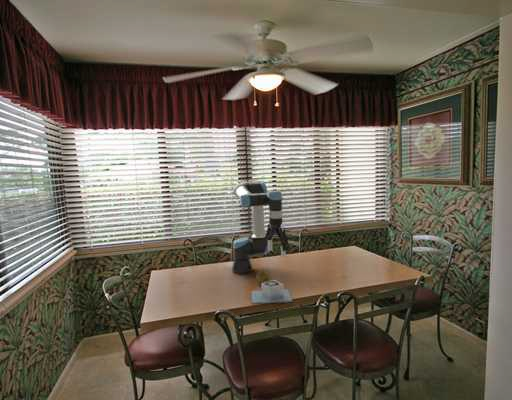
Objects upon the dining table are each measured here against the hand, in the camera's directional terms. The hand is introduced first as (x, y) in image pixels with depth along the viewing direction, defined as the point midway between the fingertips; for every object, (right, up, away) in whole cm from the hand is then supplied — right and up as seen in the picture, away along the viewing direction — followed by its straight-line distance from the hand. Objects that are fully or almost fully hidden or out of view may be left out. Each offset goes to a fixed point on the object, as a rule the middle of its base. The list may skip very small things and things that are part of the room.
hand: (276, 253), depth 172 cm
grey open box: (-3, -24, -3) cm, 24 cm away
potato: (-7, -23, +16) cm, 29 cm away
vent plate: (-3, -24, -3) cm, 25 cm away
